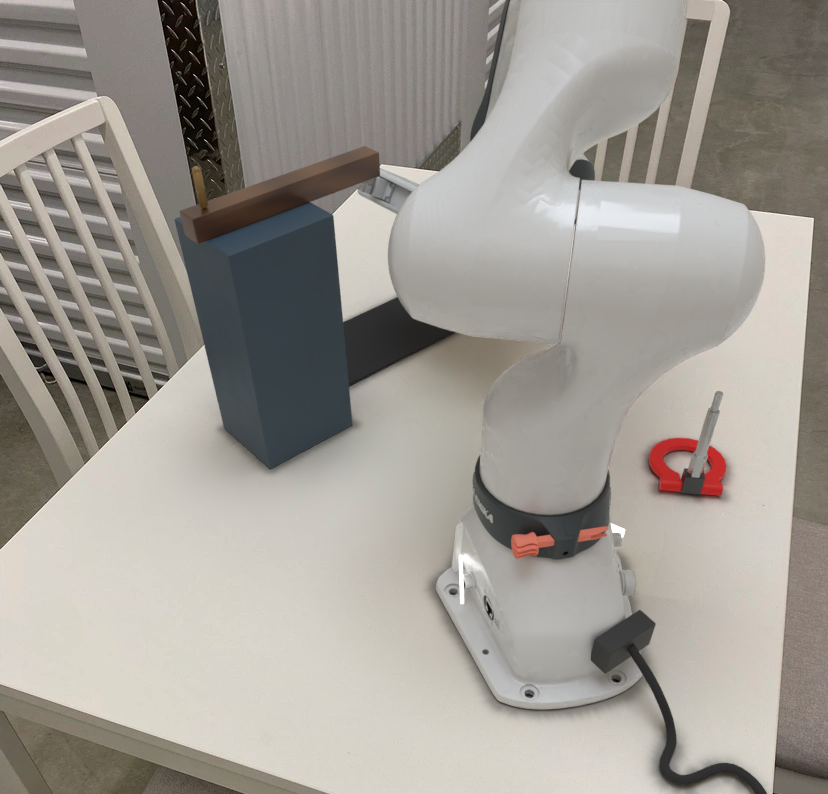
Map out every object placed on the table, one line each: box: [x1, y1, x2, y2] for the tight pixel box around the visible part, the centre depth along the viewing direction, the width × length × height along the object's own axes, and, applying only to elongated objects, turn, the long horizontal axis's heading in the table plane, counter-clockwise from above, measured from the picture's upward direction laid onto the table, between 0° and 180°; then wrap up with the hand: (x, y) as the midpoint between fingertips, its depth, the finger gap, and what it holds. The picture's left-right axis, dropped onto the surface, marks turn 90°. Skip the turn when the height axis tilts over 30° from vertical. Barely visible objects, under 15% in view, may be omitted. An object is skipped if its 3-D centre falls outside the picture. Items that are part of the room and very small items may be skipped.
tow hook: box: [648, 390, 728, 497], centre depth 88 cm, size 8×13×9 cm
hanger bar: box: [179, 145, 381, 244], centre depth 79 cm, size 22×2×6 cm, turn 131°
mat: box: [343, 296, 456, 387], centre depth 111 cm, size 20×12×1 cm, turn 131°
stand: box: [173, 201, 353, 470], centre depth 89 cm, size 12×10×26 cm
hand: (383, 193), depth 89 cm, fingers open, 8 cm apart
